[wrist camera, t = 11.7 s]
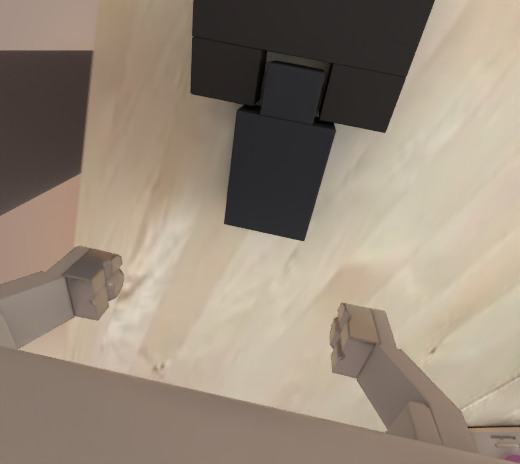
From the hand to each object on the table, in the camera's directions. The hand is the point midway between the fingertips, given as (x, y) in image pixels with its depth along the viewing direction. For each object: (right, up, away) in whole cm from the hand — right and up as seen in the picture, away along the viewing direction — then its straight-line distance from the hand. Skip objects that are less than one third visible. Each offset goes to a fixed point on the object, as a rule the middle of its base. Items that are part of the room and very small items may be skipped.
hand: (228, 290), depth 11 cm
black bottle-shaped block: (+3, +8, +11) cm, 14 cm away
